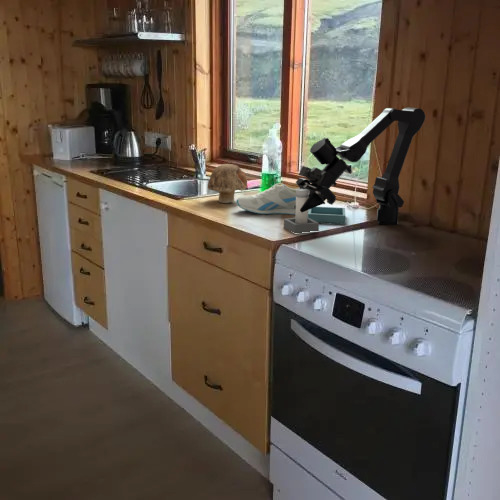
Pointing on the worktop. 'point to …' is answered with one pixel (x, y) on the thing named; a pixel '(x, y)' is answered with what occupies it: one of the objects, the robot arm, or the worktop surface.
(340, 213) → the tray
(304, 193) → the cylinder
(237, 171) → the sculpture
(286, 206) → the sneaker
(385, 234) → the worktop surface
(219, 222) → the worktop surface
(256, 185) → the worktop surface
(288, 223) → the grey square open box
